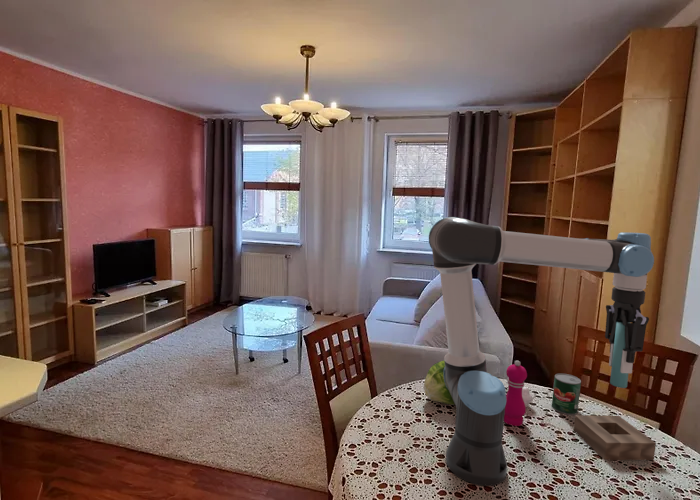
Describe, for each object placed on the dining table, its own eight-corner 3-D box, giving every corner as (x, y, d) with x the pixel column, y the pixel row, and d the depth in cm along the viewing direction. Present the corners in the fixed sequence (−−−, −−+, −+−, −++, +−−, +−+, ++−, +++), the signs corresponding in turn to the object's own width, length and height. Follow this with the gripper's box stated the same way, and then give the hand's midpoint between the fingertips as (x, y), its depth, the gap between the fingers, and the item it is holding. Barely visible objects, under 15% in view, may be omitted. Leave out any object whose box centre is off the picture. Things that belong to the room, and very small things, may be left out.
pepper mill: (526, 428, 121) (533, 366, 119) (502, 425, 122) (507, 363, 120) (521, 416, 128) (527, 357, 126) (498, 413, 129) (503, 355, 127)
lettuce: (418, 397, 143) (411, 363, 138) (468, 376, 148) (463, 342, 143) (440, 427, 129) (433, 391, 123) (495, 403, 133) (490, 366, 128)
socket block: (604, 459, 107) (606, 442, 107) (573, 430, 121) (575, 415, 120) (653, 460, 108) (656, 443, 107) (617, 431, 122) (619, 415, 121)
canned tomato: (553, 411, 132) (556, 380, 131) (550, 401, 139) (553, 371, 138) (579, 417, 129) (583, 385, 128) (575, 406, 136) (578, 375, 135)
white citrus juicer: (514, 399, 140) (516, 380, 139) (533, 404, 136) (535, 385, 135) (510, 405, 135) (512, 386, 134) (529, 411, 131) (531, 392, 130)
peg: (616, 387, 110) (623, 325, 108) (606, 381, 114) (613, 321, 112) (630, 387, 110) (637, 325, 108) (620, 381, 114) (626, 321, 112)
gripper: (667, 295, 100) (657, 382, 103) (619, 282, 117) (612, 357, 120) (639, 295, 100) (629, 382, 103) (595, 282, 117) (588, 357, 119)
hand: (620, 369), depth 111 cm, fingers closed on peg, 4 cm apart
